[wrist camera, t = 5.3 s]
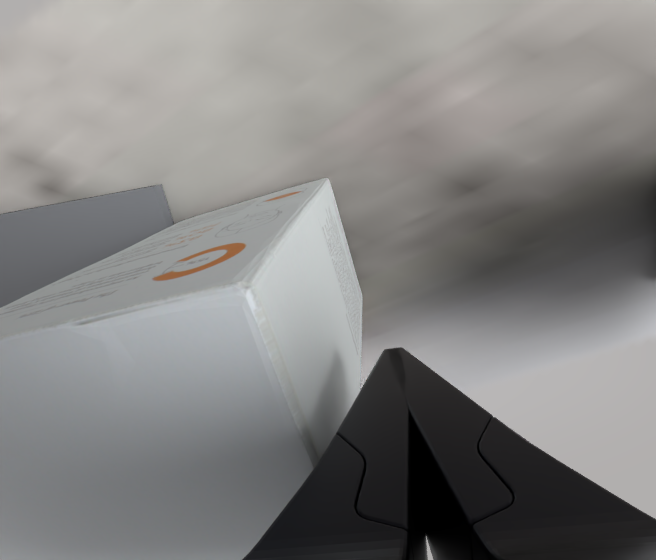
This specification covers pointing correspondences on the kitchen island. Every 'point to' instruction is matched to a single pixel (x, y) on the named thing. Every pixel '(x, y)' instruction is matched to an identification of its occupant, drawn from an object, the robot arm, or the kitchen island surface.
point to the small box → (179, 385)
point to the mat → (74, 236)
